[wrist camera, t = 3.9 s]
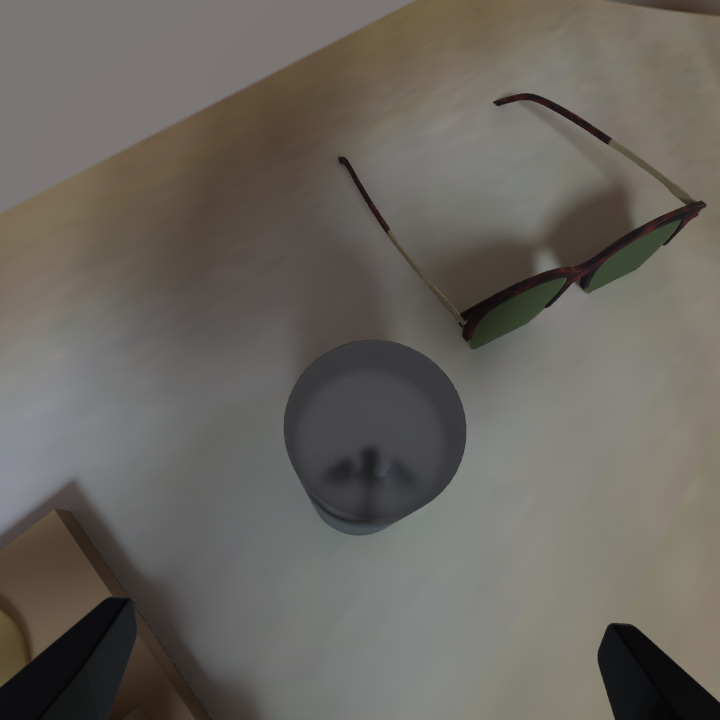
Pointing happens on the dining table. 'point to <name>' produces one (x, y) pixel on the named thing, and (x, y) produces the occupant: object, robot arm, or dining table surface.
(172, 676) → the door lock
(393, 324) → the dining table surface
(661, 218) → the sunglasses
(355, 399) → the silver metal cylinder
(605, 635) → the robot arm
